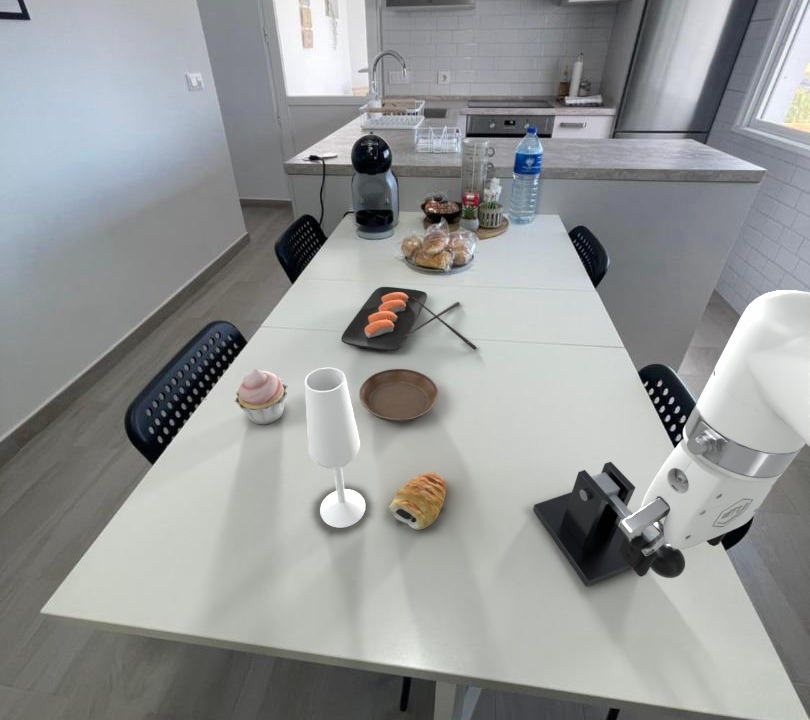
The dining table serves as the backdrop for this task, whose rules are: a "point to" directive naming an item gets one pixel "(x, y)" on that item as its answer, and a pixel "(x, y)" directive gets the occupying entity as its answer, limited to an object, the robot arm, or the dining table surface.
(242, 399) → the cupcake
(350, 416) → the champagne flute
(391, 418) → the saucer
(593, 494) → the black bracket piece
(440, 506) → the pastry
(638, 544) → the robot arm
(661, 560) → the tap lever
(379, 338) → the sushi plate
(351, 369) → the dining table surface
